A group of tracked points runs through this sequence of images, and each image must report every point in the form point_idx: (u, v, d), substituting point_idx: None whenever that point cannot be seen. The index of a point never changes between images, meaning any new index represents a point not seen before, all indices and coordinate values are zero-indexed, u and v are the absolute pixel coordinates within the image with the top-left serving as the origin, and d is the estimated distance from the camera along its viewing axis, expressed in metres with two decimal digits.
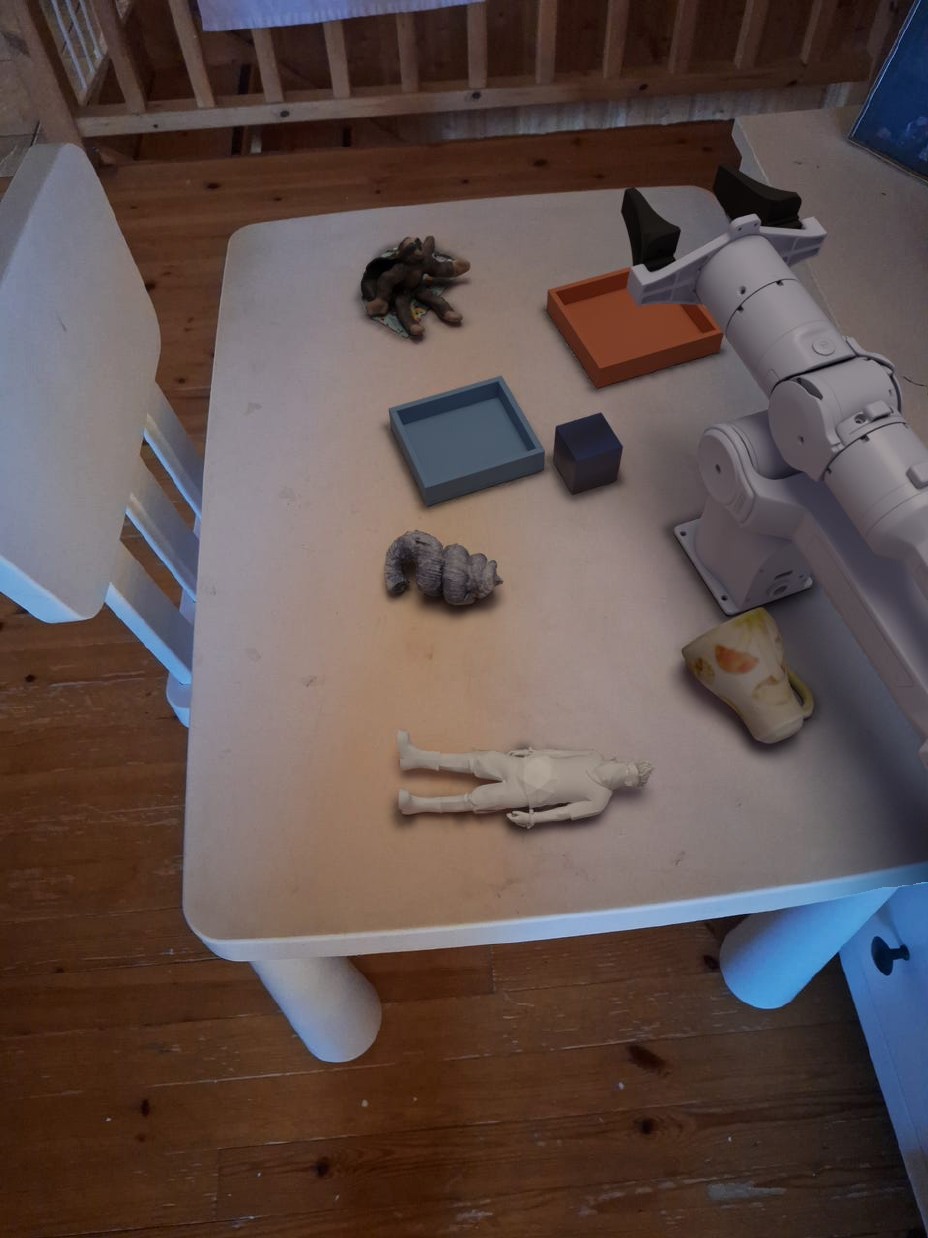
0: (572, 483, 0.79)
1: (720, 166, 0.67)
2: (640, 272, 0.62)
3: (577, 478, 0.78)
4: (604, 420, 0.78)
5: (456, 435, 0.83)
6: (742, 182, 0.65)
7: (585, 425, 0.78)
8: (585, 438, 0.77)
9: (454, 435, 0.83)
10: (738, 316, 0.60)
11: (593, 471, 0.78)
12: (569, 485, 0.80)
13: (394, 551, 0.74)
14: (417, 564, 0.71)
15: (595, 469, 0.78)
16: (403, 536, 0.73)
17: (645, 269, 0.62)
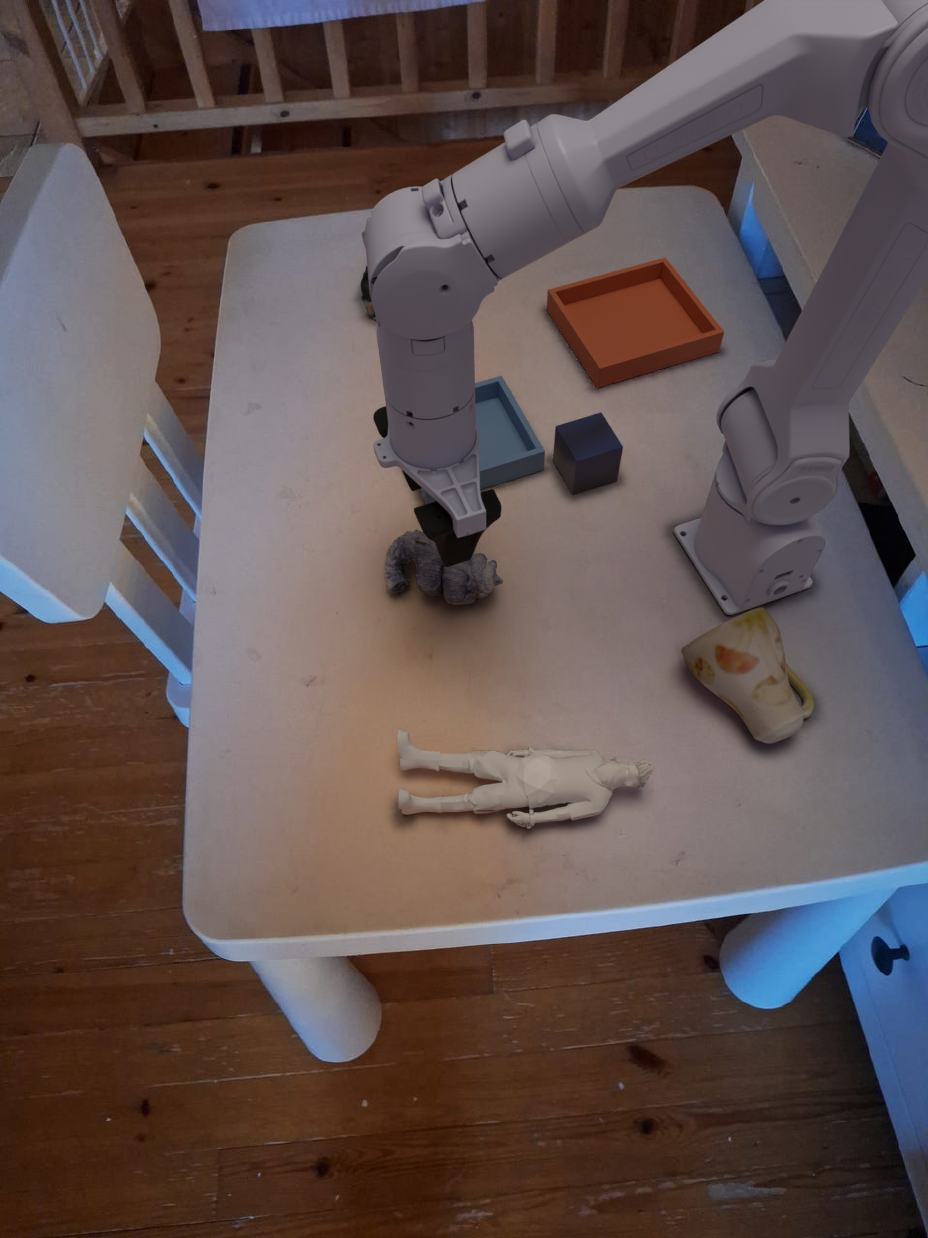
0: (572, 483, 0.79)
1: (411, 489, 0.69)
2: (455, 526, 0.57)
3: (577, 478, 0.78)
4: (604, 420, 0.78)
5: None
6: None
7: (585, 425, 0.78)
8: (585, 438, 0.77)
9: None
10: (414, 412, 0.55)
11: (593, 471, 0.78)
12: (569, 485, 0.80)
13: (394, 551, 0.74)
14: (417, 564, 0.71)
15: (595, 469, 0.78)
16: (403, 536, 0.73)
17: (453, 522, 0.58)
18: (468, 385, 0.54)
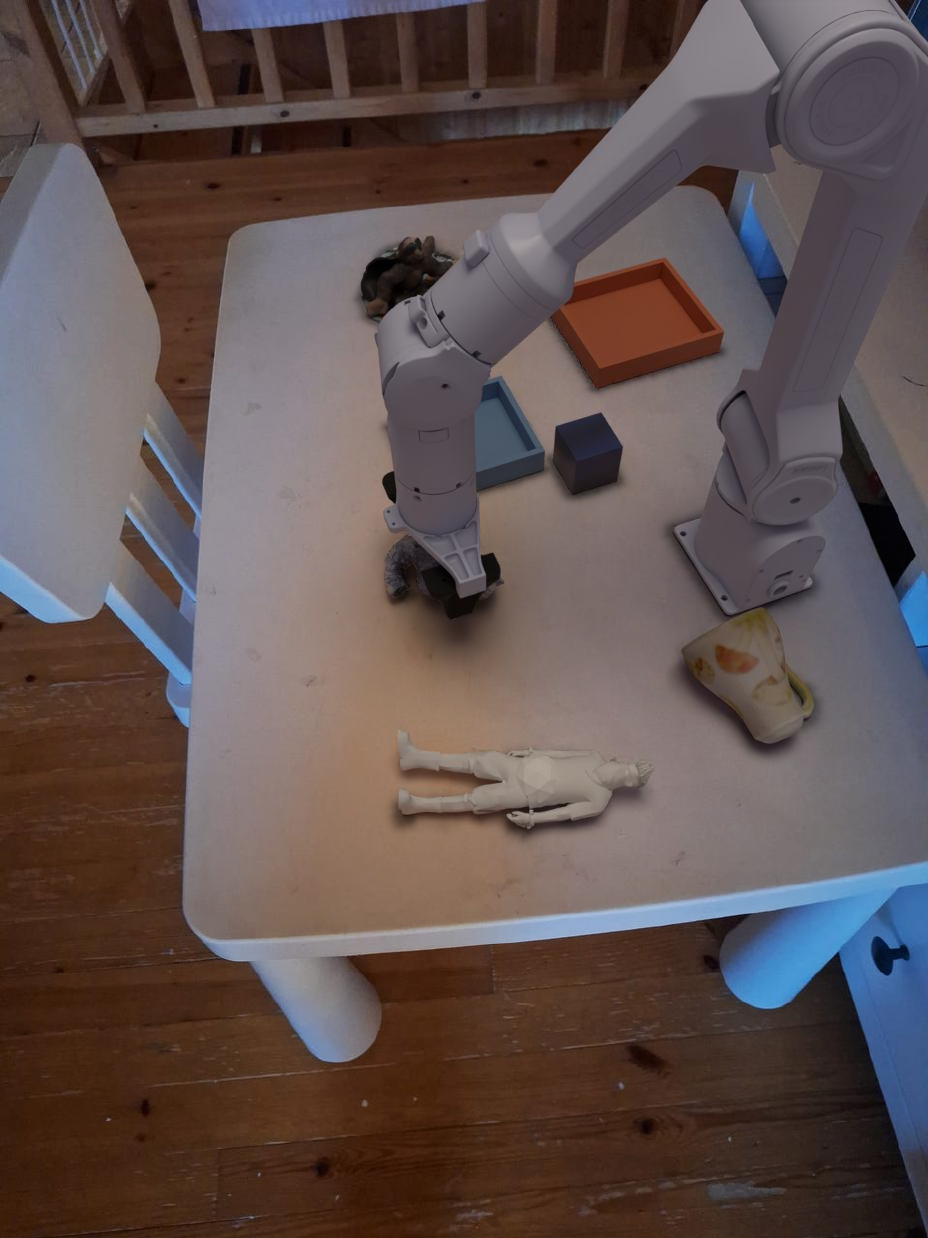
0: (572, 483, 0.79)
1: None
2: (458, 588, 0.63)
3: (577, 478, 0.78)
4: (604, 420, 0.78)
5: None
6: None
7: (585, 425, 0.78)
8: (585, 438, 0.77)
9: None
10: (421, 488, 0.60)
11: (593, 471, 0.78)
12: (569, 485, 0.80)
13: (393, 556, 0.73)
14: (418, 568, 0.71)
15: (595, 469, 0.78)
16: (402, 540, 0.73)
17: (456, 584, 0.64)
18: (469, 464, 0.60)
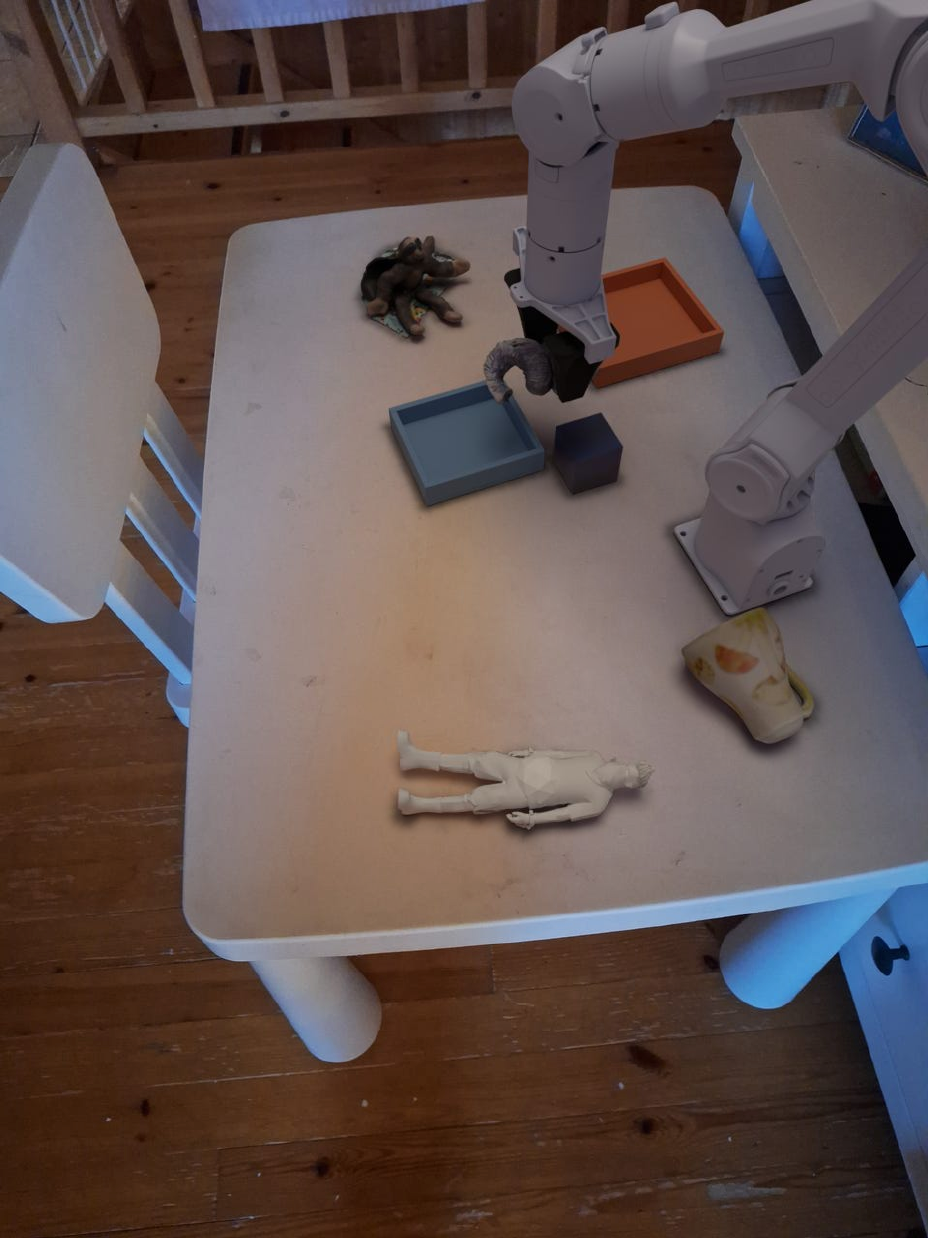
0: (572, 483, 0.79)
1: None
2: (588, 352, 0.66)
3: (577, 478, 0.78)
4: (604, 420, 0.78)
5: (456, 435, 0.83)
6: (525, 326, 0.75)
7: (585, 425, 0.78)
8: (585, 438, 0.77)
9: (454, 435, 0.83)
10: (531, 233, 0.63)
11: (593, 471, 0.78)
12: (569, 485, 0.80)
13: (492, 364, 0.75)
14: (524, 363, 0.73)
15: (595, 469, 0.78)
16: (497, 347, 0.75)
17: (585, 350, 0.66)
18: (579, 234, 0.62)
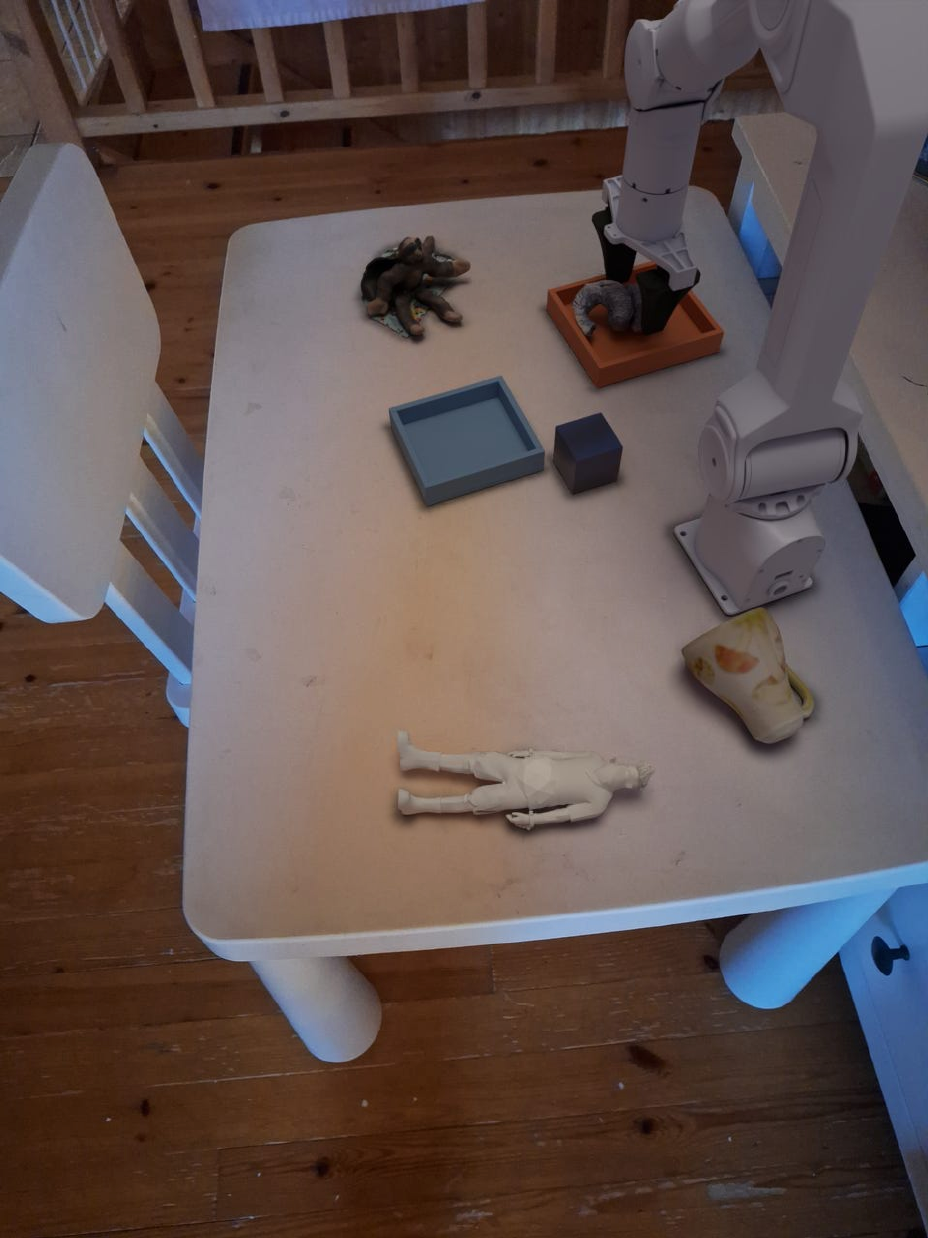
0: (572, 483, 0.79)
1: None
2: (672, 281, 0.78)
3: (577, 478, 0.78)
4: (604, 420, 0.78)
5: (456, 435, 0.83)
6: (607, 261, 0.87)
7: (585, 425, 0.78)
8: (585, 438, 0.77)
9: (454, 435, 0.83)
10: (623, 166, 0.76)
11: (593, 471, 0.78)
12: (569, 485, 0.80)
13: (581, 301, 0.87)
14: (611, 300, 0.86)
15: (595, 469, 0.78)
16: (585, 287, 0.87)
17: (669, 279, 0.78)
18: (648, 177, 0.74)
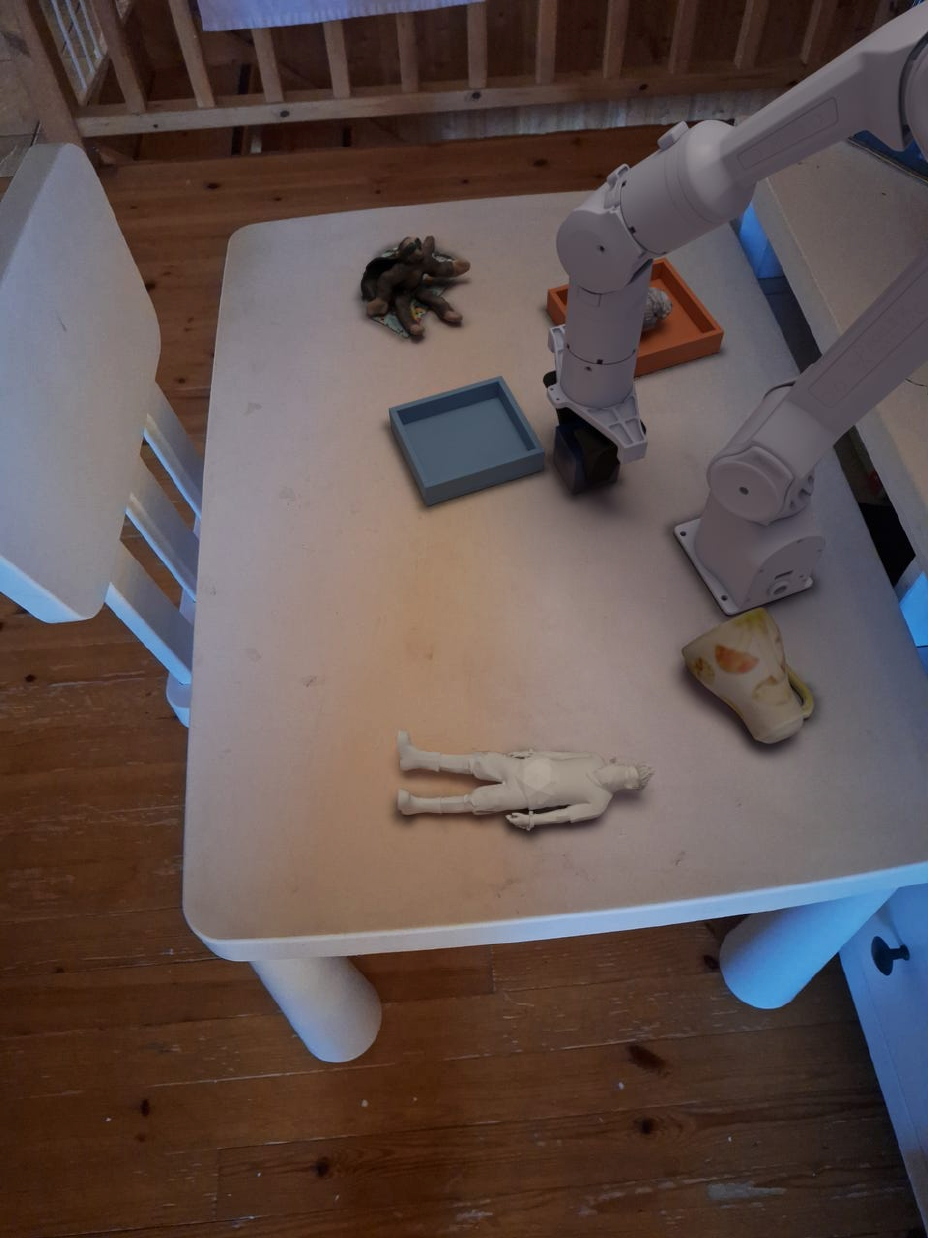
0: (572, 484, 0.79)
1: None
2: (620, 454, 0.70)
3: (577, 479, 0.78)
4: None
5: (456, 435, 0.83)
6: (561, 423, 0.78)
7: (585, 425, 0.78)
8: None
9: (454, 435, 0.83)
10: (570, 346, 0.67)
11: None
12: (569, 485, 0.80)
13: None
14: None
15: None
16: None
17: (618, 452, 0.70)
18: (617, 348, 0.66)
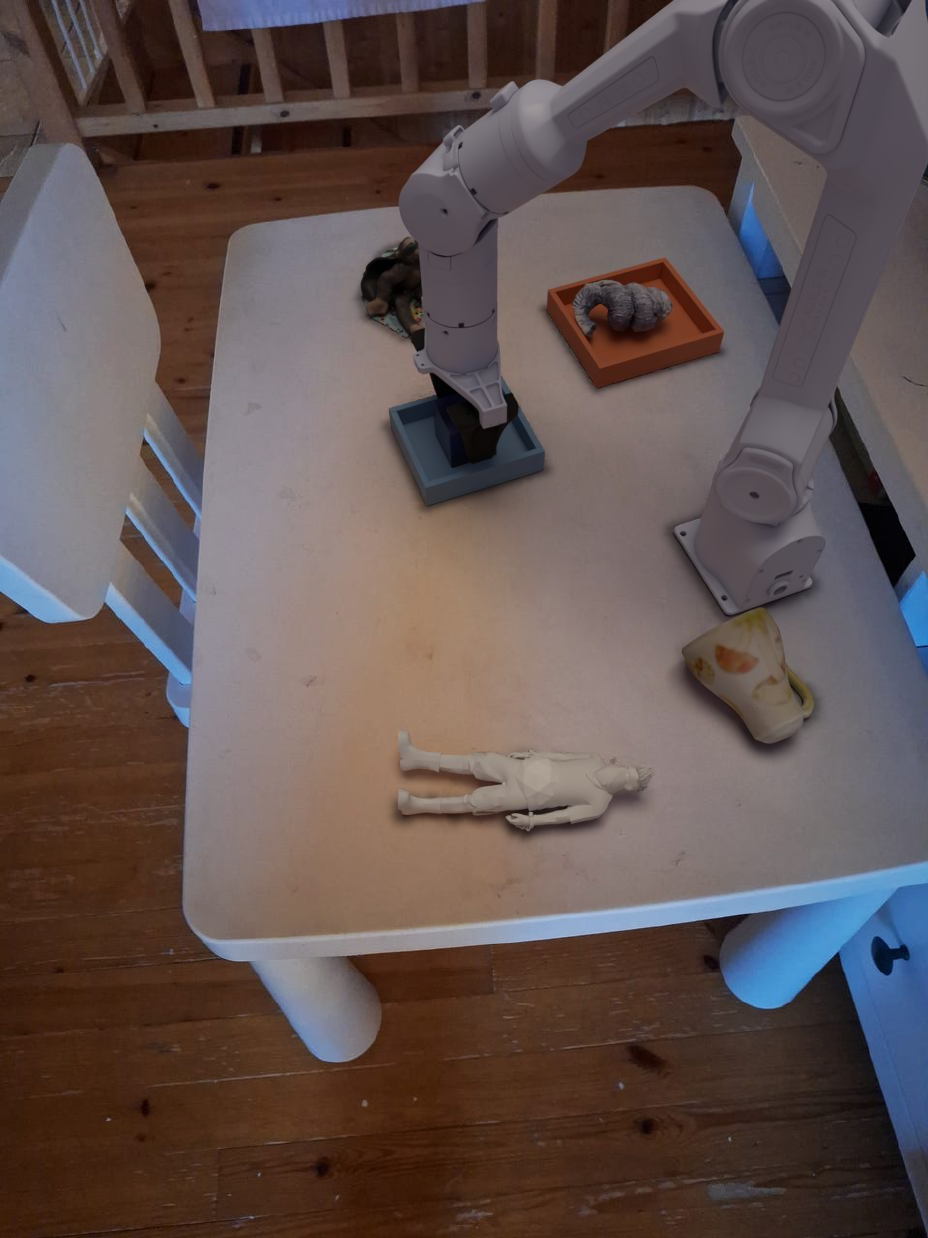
0: (450, 457, 0.80)
1: None
2: (481, 418, 0.70)
3: (453, 452, 0.79)
4: None
5: None
6: (433, 380, 0.80)
7: (461, 399, 0.79)
8: None
9: None
10: (430, 313, 0.68)
11: None
12: (448, 459, 0.81)
13: (581, 301, 0.87)
14: (611, 300, 0.86)
15: None
16: (585, 287, 0.87)
17: (479, 416, 0.71)
18: (476, 310, 0.67)
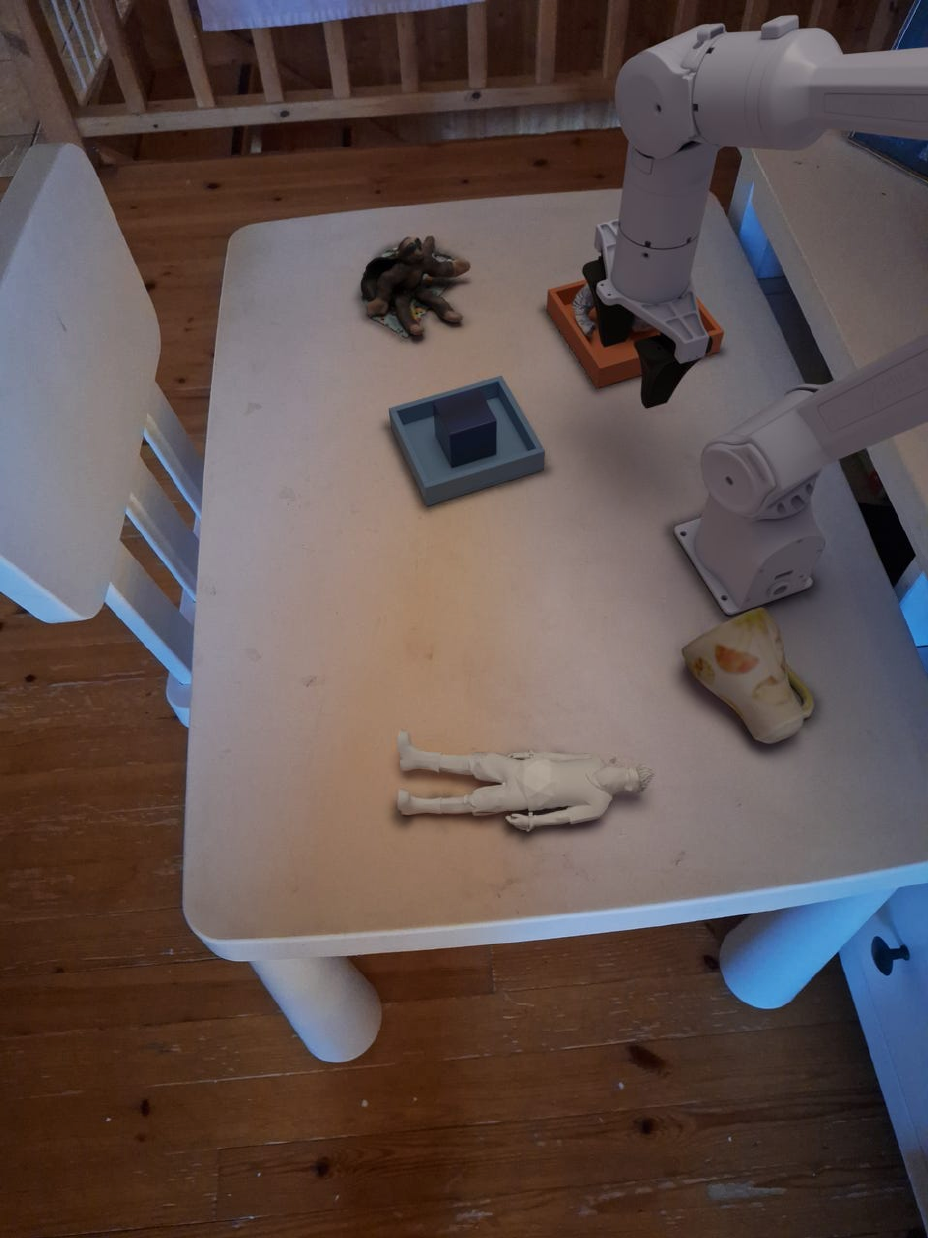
0: (450, 457, 0.80)
1: (604, 345, 0.76)
2: (679, 352, 0.64)
3: (453, 452, 0.79)
4: (480, 394, 0.80)
5: None
6: (601, 319, 0.73)
7: (461, 399, 0.79)
8: (460, 412, 0.79)
9: None
10: (621, 224, 0.62)
11: (469, 444, 0.79)
12: (448, 459, 0.81)
13: (581, 301, 0.87)
14: None
15: (471, 443, 0.79)
16: (585, 287, 0.87)
17: (676, 349, 0.64)
18: (668, 231, 0.60)
